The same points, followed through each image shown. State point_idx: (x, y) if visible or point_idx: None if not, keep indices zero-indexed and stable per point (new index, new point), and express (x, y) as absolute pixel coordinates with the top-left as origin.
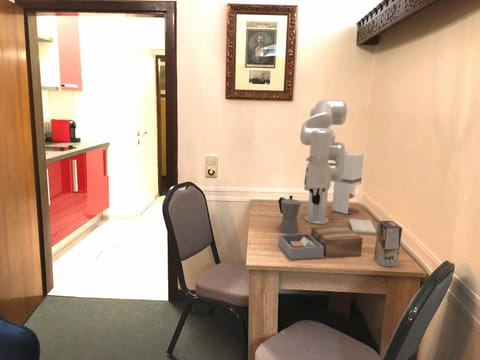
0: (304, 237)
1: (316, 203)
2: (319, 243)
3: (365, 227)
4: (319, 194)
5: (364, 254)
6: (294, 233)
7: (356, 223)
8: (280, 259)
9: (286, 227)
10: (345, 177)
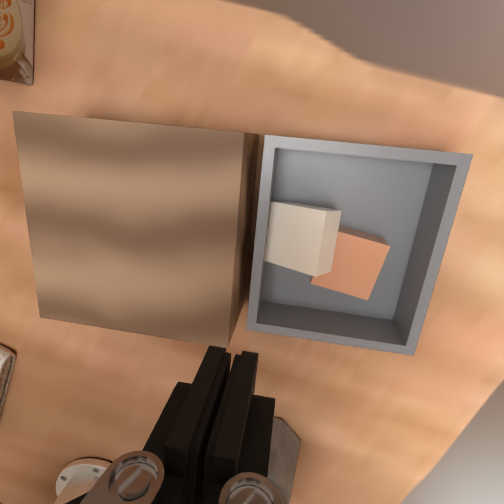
0: (315, 267)
1: (242, 358)
2: (262, 190)
3: None
4: (152, 473)
5: None
6: None
7: None
8: (484, 180)
9: (285, 449)
10: None
